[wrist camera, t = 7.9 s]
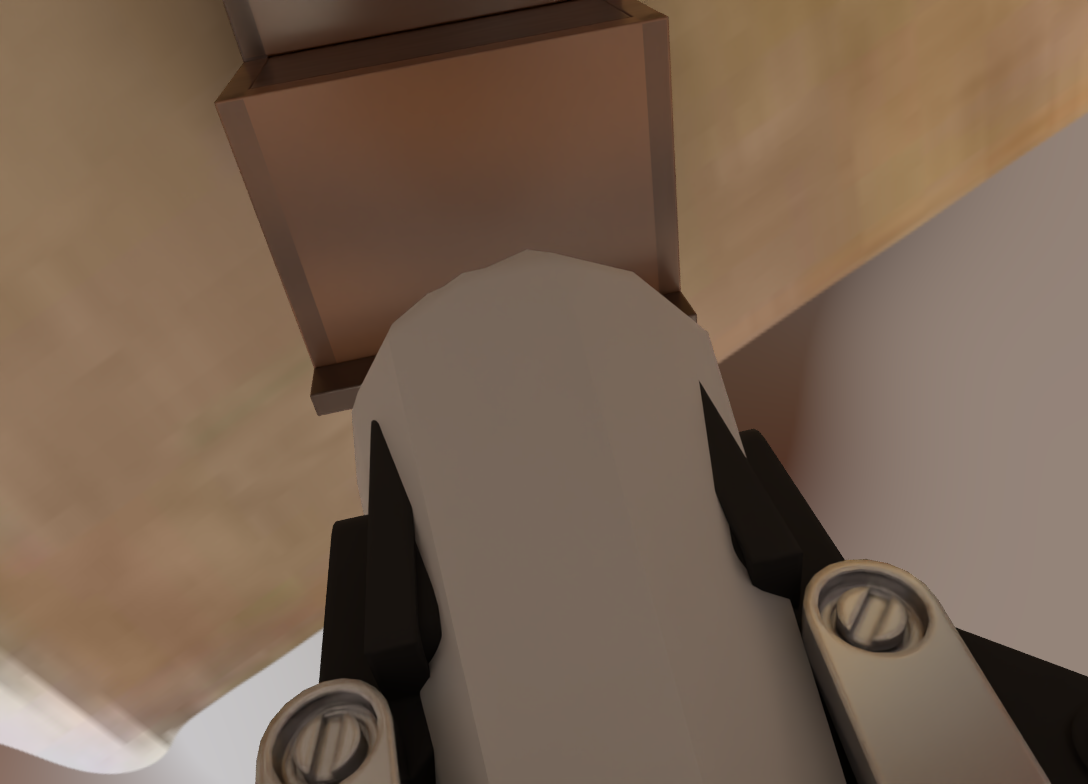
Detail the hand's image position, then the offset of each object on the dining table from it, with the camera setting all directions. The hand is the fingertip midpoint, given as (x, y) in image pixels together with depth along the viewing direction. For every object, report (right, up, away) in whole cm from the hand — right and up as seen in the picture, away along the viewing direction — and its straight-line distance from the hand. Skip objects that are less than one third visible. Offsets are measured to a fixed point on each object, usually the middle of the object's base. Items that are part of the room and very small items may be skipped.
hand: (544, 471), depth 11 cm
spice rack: (-4, +14, +17) cm, 22 cm away
